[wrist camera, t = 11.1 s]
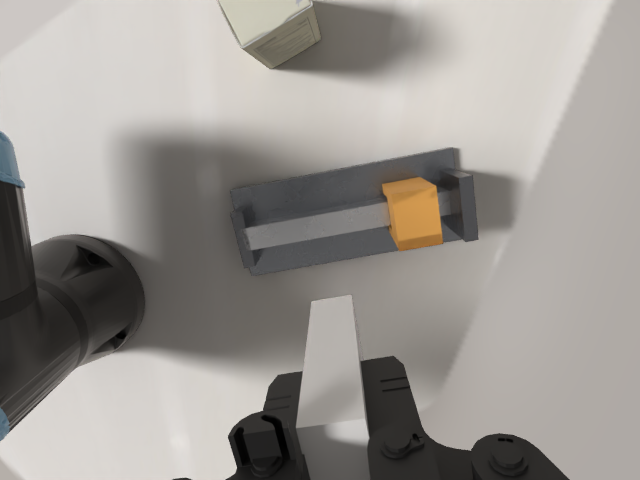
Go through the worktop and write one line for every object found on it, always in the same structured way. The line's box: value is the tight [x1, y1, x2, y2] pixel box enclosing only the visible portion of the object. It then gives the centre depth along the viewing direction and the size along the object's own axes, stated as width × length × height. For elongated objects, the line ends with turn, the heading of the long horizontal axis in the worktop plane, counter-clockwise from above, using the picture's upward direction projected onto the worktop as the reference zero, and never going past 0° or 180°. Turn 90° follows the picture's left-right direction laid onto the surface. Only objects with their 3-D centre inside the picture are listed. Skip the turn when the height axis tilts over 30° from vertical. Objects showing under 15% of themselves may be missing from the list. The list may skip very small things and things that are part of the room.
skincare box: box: [217, 0, 321, 69], centre depth 34 cm, size 6×4×12 cm
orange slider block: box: [382, 177, 443, 251], centre depth 40 cm, size 4×5×7 cm
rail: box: [230, 147, 479, 276], centre depth 41 cm, size 24×10×8 cm, turn 101°
